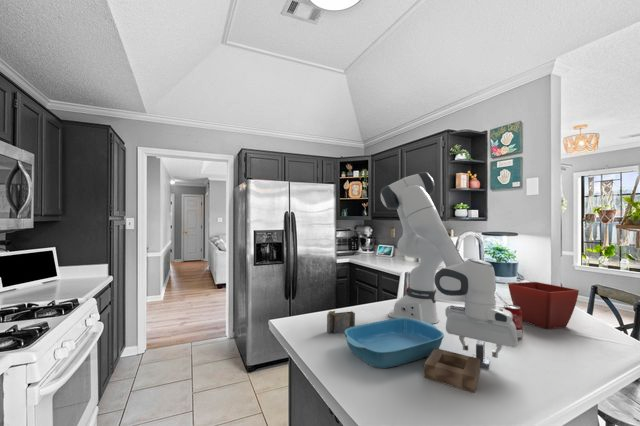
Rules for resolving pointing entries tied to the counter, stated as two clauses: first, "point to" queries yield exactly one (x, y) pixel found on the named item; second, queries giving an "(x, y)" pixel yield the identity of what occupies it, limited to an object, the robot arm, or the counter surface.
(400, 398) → the counter surface
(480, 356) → the bracket
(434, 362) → the block
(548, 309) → the plant pot
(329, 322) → the brown flat upright block
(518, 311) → the soda can
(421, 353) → the casserole dish
